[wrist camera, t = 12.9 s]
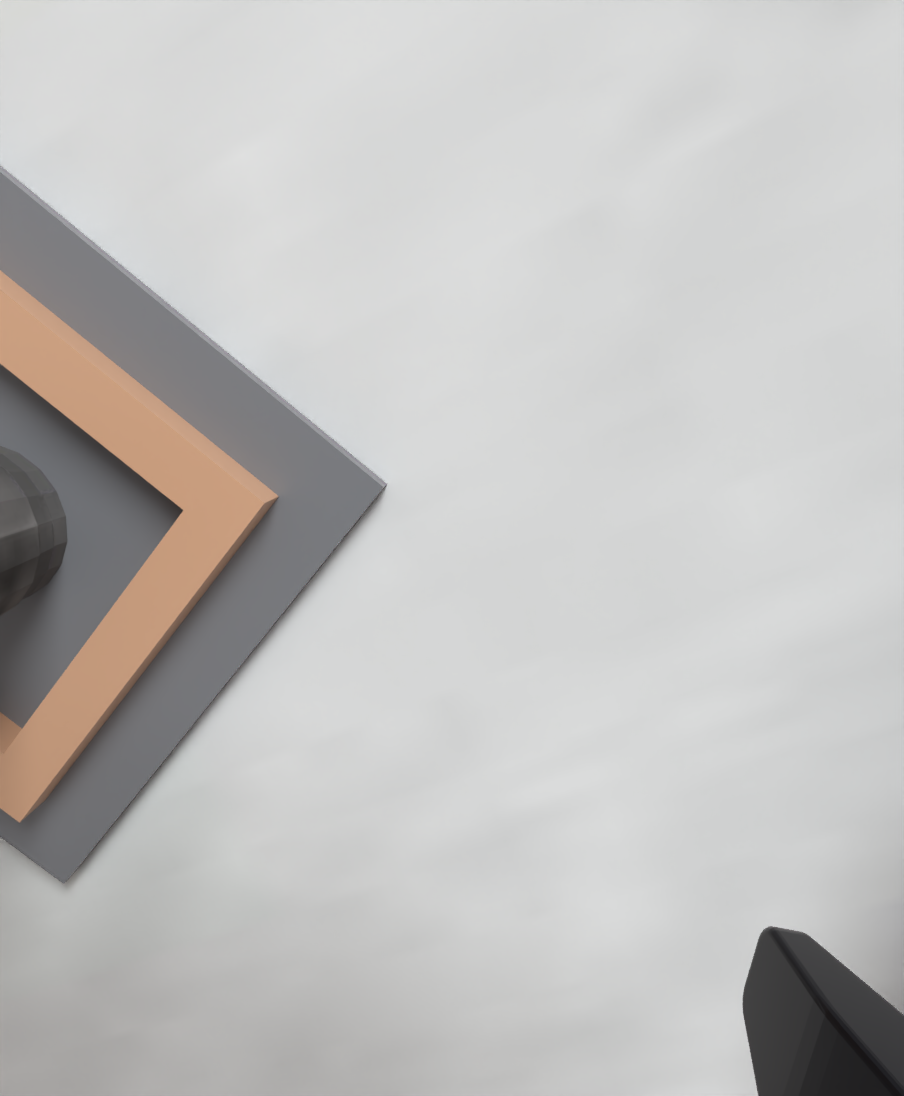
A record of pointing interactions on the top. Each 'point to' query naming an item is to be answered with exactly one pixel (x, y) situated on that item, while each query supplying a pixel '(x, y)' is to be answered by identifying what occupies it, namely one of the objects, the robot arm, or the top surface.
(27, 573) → the beverage cup
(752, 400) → the top surface
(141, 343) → the cup dock
